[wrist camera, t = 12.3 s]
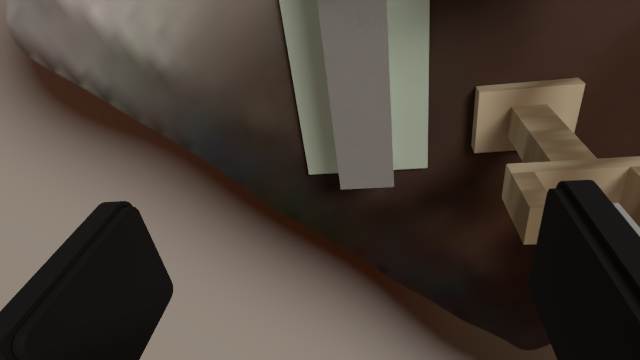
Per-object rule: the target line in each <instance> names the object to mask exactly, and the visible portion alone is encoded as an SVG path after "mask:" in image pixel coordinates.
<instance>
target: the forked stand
mask: <svg viewBox="0 0 640 360" xmlns="http://www.w3.org/2000/svg"><path fill="white" fill-rule="evenodd" d="M584 88H585V83H584V82H583V81H582V80H580V79H579V78H569V79H557V80H545V81H534V82H522V83H510V84H499V85H487V86H476V91H475V104H474V117H473V130H472V142H471V146H472V149H473V151H474V153H483V152H499V151H515V150H516V151H517V153H518V154H519V156H520V157H521V159H522V161H523V162H524V163H514V164H506V170H505V177H504V185H503V192H502V199H503V201H504V204H505V206H506V208H507V210H508V212H509V214H510V217H511V219H512V221H513V223H514V225H515V227H516V230H517V232H518V234H519V236H520V238H521V240H522V243H523V245H528V244H536V243H537V239H538V234H539V229H540V224H541V219H542V214H543V210H544V205H545V200H546V195H547V192H548V190H549V189H551V188H556V186H557V184H558V183H559V182H560V181H572V180H593V181H594V182H595V183H596V184H597V185H598V186H599V187H600V189H601V190H602V191H603V192H604V193H605V195H606V196H607V197H608V198H609V200H610V201H611V202H612V203H619V204H620V205H621V206H622V208H623V209H624V210H625V211H626V212H627V213H628V215H629V216H630V217H631V218H632V219H633V220H634V222H635V223H636V224H637V225H638V226H639V227H640V156H637V157H619V158H602V159H597V158H596V157H595V156H594V155H593V154H592V153H591V152H590V150H589V149H588V148H587V147H586V146H585V145H584V144H583V143H582V142H581V141H580V140H579V139H578V137H577V136H576V135H575V134H574V132H575V127H576V123H577V119H578V114H579V110H580V105H581V101H582V97H583V92H584Z"/></svg>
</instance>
